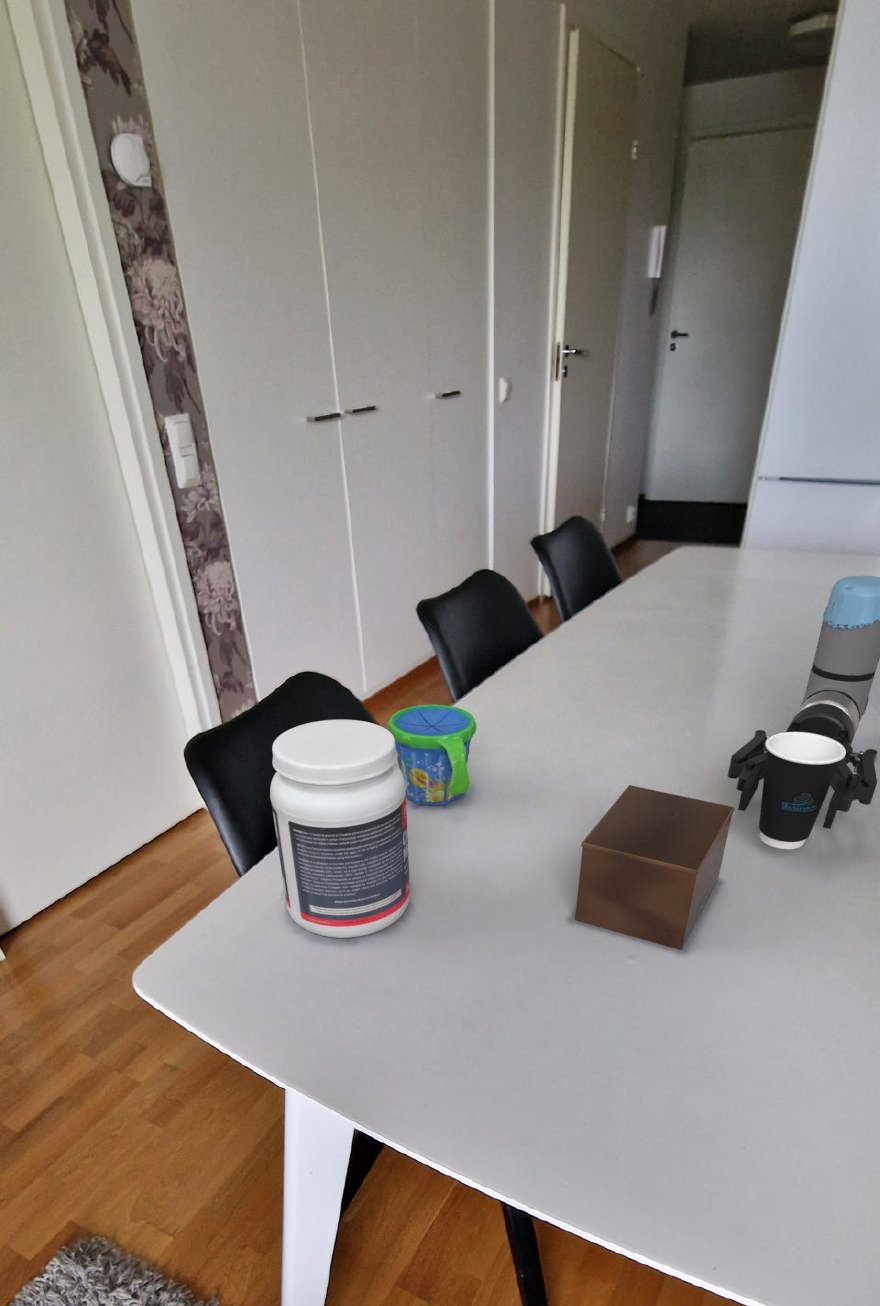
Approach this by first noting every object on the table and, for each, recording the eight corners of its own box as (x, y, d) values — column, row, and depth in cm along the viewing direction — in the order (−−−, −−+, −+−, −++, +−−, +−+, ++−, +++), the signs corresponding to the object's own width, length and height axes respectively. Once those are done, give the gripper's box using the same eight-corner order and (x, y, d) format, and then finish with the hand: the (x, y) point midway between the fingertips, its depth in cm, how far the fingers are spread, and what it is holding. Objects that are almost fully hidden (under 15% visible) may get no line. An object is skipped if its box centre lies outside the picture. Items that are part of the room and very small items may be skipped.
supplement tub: (436, 907, 88) (433, 740, 77) (341, 961, 80) (323, 785, 70) (355, 863, 95) (343, 705, 84) (262, 909, 88) (234, 742, 77)
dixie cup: (777, 815, 99) (799, 725, 92) (835, 843, 93) (863, 749, 87) (729, 833, 96) (749, 741, 89) (786, 863, 90) (811, 767, 84)
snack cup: (494, 814, 104) (496, 736, 98) (413, 829, 101) (410, 749, 95) (450, 765, 116) (450, 692, 110) (377, 776, 113) (373, 703, 107)
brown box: (718, 881, 91) (735, 807, 86) (682, 951, 81) (698, 871, 76) (619, 857, 96) (629, 784, 90) (573, 920, 86) (581, 842, 80)
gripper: (903, 777, 102) (883, 862, 86) (729, 746, 110) (681, 818, 94) (924, 716, 97) (906, 794, 81) (741, 689, 106) (692, 755, 90)
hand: (786, 807), depth 88 cm, fingers closed on dixie cup, 8 cm apart
